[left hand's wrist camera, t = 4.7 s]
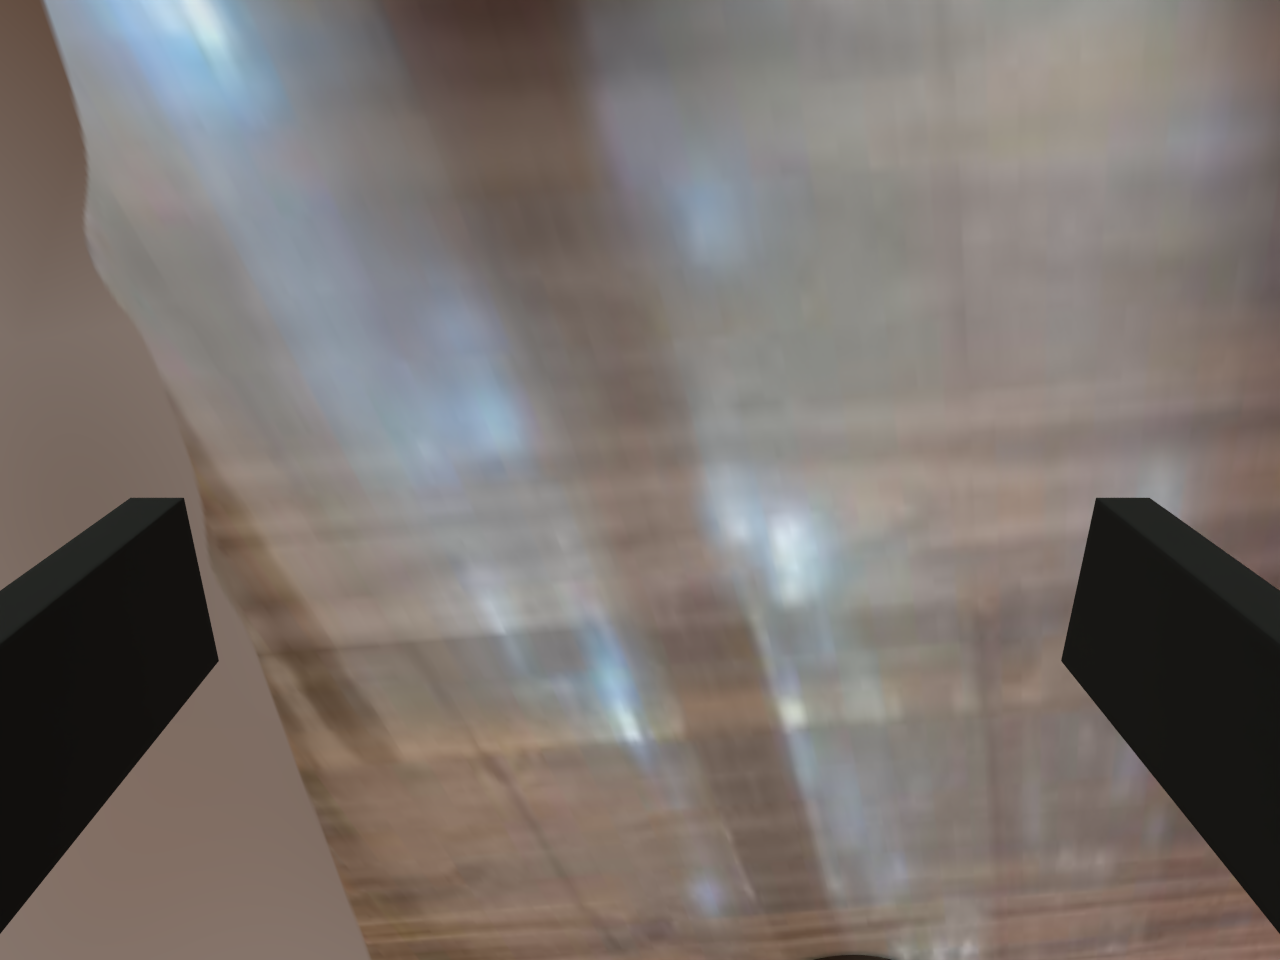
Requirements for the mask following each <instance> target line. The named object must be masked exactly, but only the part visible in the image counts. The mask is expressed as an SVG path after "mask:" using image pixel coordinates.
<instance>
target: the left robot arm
mask: <svg viewBox="0 0 1280 960" xmlns="http://www.w3.org/2000/svg"><path fill="white" fill-rule="evenodd" d="M218 661H219V660H218V655H217V651H216V646H215V641H214V636H213V632H212V627H211V622H210V618H209V613H208V609H207V604H206V599H205V594H204V590H203V585H202V580H201V576H200V571H199V566H198V562H197V557H196V553H195V548H194V543H193V538H192V534H191V529H190V524H189V520H188V515H187V511H186V506H185V501H184V498H130V499H128V500H127V501H126V502H124V503H123V504H121V505H120V506H119V507H117V508H116V509H114V510H113V511H112V512H110V513H109V514H107V515H106V516H105V517H103V518H102V519H100V520H99V521H98V522H96V523H95V524H93V525H92V526H90V527H89V528H88V529H86V530H85V531H83V532H82V533H81V534H79V535H78V536H77V537H75V538H74V539H72V540H71V541H70V542H68V543H67V544H65V545H64V546H62V547H61V548H60V549H58V550H57V551H55V552H54V553H53V554H51V555H50V556H48V557H47V558H46V559H44V560H43V561H41V562H40V563H39V564H37V565H36V566H34V567H33V568H32V569H30V570H29V571H27V572H26V573H25V574H23V575H22V576H20V577H19V578H18V579H16V580H15V581H13V582H12V583H11V584H9V585H8V586H6V587H5V588H4V589H2V590H1V591H0V933H1V932H2V931H3V930H4V928H5V927H6V926H7V925H8V923H9V922H10V921H11V920H12V918H13V917H14V916H15V915H16V913H17V912H18V911H19V910H20V908H21V907H22V906H23V905H24V903H25V902H26V901H27V900H28V898H29V897H30V896H31V895H32V893H33V892H34V891H35V890H36V888H37V887H38V886H39V885H40V883H41V882H42V881H43V880H44V878H45V877H46V876H47V875H48V873H49V872H50V871H51V870H52V868H53V867H54V866H55V865H56V863H57V862H58V861H59V860H60V858H61V857H62V856H63V855H64V853H65V852H66V851H67V850H68V848H69V847H70V846H71V845H72V843H73V842H74V841H75V840H76V838H77V837H78V836H79V835H80V833H81V832H82V831H83V830H84V828H85V827H86V826H87V825H88V823H89V822H90V821H91V820H92V818H93V817H94V816H95V815H96V813H97V812H98V811H99V810H100V808H101V807H102V806H103V805H104V803H105V802H106V801H107V800H108V798H109V797H110V796H111V795H112V793H113V792H114V791H115V790H116V788H117V787H118V786H119V785H120V783H121V782H122V781H123V780H124V778H125V777H126V776H127V775H128V773H129V772H130V771H131V770H132V768H133V767H134V766H135V765H136V763H137V762H138V761H139V760H140V758H141V757H142V756H143V755H144V753H145V752H146V751H147V750H148V749H149V747H150V746H151V745H152V743H153V742H154V741H155V740H156V739H157V737H158V736H159V735H160V734H161V732H162V731H163V730H164V729H165V727H166V726H167V725H168V724H169V722H170V721H171V720H172V719H173V717H174V716H175V715H176V714H177V712H178V711H179V710H180V709H181V707H182V706H183V705H184V704H185V702H186V701H187V700H188V699H189V697H190V696H191V695H192V693H193V692H194V691H195V690H196V689H197V687H198V686H199V685H200V684H201V682H202V681H203V680H204V679H205V677H206V676H207V675H208V674H209V672H210V671H211V670H212V669H213V667H214V666H215V665H216V664H217V662H218ZM1061 661H1062V662H1063V664H1064V665H1065V666H1066V667H1067V669H1068V670H1069V671H1070V672H1071V674H1072V675H1073V676H1074V677H1075V679H1076V680H1077V681H1078V682H1079V684H1080V685H1081V686H1082V687H1083V689H1084V690H1085V691H1086V692H1087V694H1088V695H1089V696H1090V697H1091V699H1092V700H1093V701H1094V702H1095V704H1096V705H1097V706H1098V707H1099V709H1100V710H1101V711H1102V712H1103V714H1104V715H1105V716H1106V717H1107V719H1108V720H1109V721H1110V722H1111V724H1112V725H1113V726H1114V727H1115V729H1116V730H1117V731H1118V732H1119V734H1120V735H1121V736H1122V737H1123V739H1124V740H1125V741H1126V742H1127V744H1128V745H1129V746H1130V747H1131V749H1132V750H1133V751H1134V752H1135V754H1136V755H1137V756H1138V757H1139V759H1140V760H1141V761H1142V762H1143V764H1144V765H1145V766H1146V767H1147V768H1148V770H1149V771H1150V772H1151V773H1152V775H1153V776H1154V777H1155V778H1156V780H1157V781H1158V782H1159V783H1160V785H1161V786H1162V787H1163V788H1164V790H1165V791H1166V792H1167V793H1168V795H1169V796H1170V797H1171V798H1172V800H1173V801H1174V802H1175V803H1176V805H1177V806H1178V807H1179V808H1180V810H1181V811H1182V812H1183V813H1184V815H1185V816H1186V817H1187V818H1188V820H1189V821H1190V822H1191V823H1192V825H1193V826H1194V827H1195V828H1196V830H1197V831H1198V832H1199V833H1200V835H1201V836H1202V837H1203V838H1204V840H1205V841H1206V842H1207V843H1208V845H1209V846H1210V847H1211V848H1212V850H1213V851H1214V852H1215V853H1216V855H1217V856H1218V857H1219V858H1220V860H1221V861H1222V862H1223V863H1224V865H1225V866H1226V867H1227V868H1228V870H1229V871H1230V872H1231V873H1232V875H1233V876H1234V877H1235V878H1236V880H1237V881H1238V882H1239V883H1240V885H1241V886H1242V887H1243V888H1244V890H1245V891H1246V892H1247V893H1248V895H1249V896H1250V897H1251V898H1252V900H1253V901H1254V902H1255V903H1256V905H1257V906H1258V907H1259V908H1260V910H1261V911H1262V912H1263V913H1264V915H1265V916H1266V917H1267V918H1268V920H1269V921H1270V922H1271V923H1272V925H1273V926H1274V927H1275V928H1276V930H1277V931H1278V932H1279V933H1280V591H1279V590H1278V589H1276V588H1275V587H1274V586H1272V585H1271V584H1269V583H1268V582H1267V581H1265V580H1264V579H1262V578H1261V577H1260V576H1258V575H1257V574H1255V573H1254V572H1253V571H1251V570H1250V569H1248V568H1247V567H1246V566H1244V565H1243V564H1241V563H1240V562H1239V561H1237V560H1236V559H1234V558H1233V557H1232V556H1230V555H1229V554H1227V553H1226V552H1225V551H1223V550H1222V549H1220V548H1219V547H1218V546H1216V545H1215V544H1213V543H1212V542H1211V541H1209V540H1208V539H1206V538H1205V537H1204V536H1202V535H1201V534H1199V533H1198V532H1197V531H1195V530H1194V529H1192V528H1191V527H1190V526H1188V525H1187V524H1185V523H1184V522H1182V521H1181V520H1180V519H1178V518H1177V517H1175V516H1174V515H1173V514H1171V513H1170V512H1168V511H1167V510H1166V509H1164V508H1163V507H1161V506H1160V505H1159V504H1157V503H1156V502H1154V501H1153V500H1152V499H1150V498H1096V501H1095V506H1094V510H1093V515H1092V520H1091V524H1090V529H1089V534H1088V538H1087V543H1086V548H1085V552H1084V557H1083V562H1082V566H1081V571H1080V576H1079V580H1078V585H1077V590H1076V594H1075V599H1074V604H1073V608H1072V613H1071V618H1070V622H1069V627H1068V632H1067V636H1066V641H1065V646H1064V650H1063V655H1062V660H1061ZM815 960H890V959H886V958H880V957H874V956H863V955H842V956H832V957H825V958H819V959H815Z"/></svg>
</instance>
